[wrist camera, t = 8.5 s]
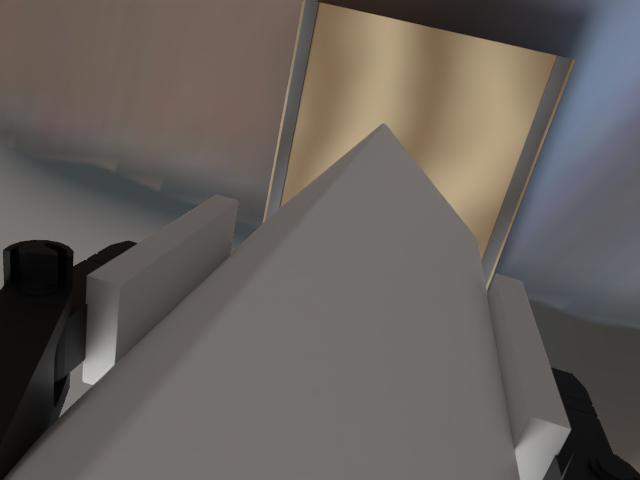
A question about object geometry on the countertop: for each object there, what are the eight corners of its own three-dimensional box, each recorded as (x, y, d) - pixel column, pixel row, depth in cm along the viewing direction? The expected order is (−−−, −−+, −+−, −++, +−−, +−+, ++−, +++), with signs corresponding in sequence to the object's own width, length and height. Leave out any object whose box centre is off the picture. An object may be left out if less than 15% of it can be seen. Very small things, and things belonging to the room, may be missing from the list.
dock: (272, 226, 40) (259, 240, 37) (314, 2, 34) (302, -2, 31) (478, 285, 38) (481, 305, 35) (563, 58, 32) (576, 59, 29)
